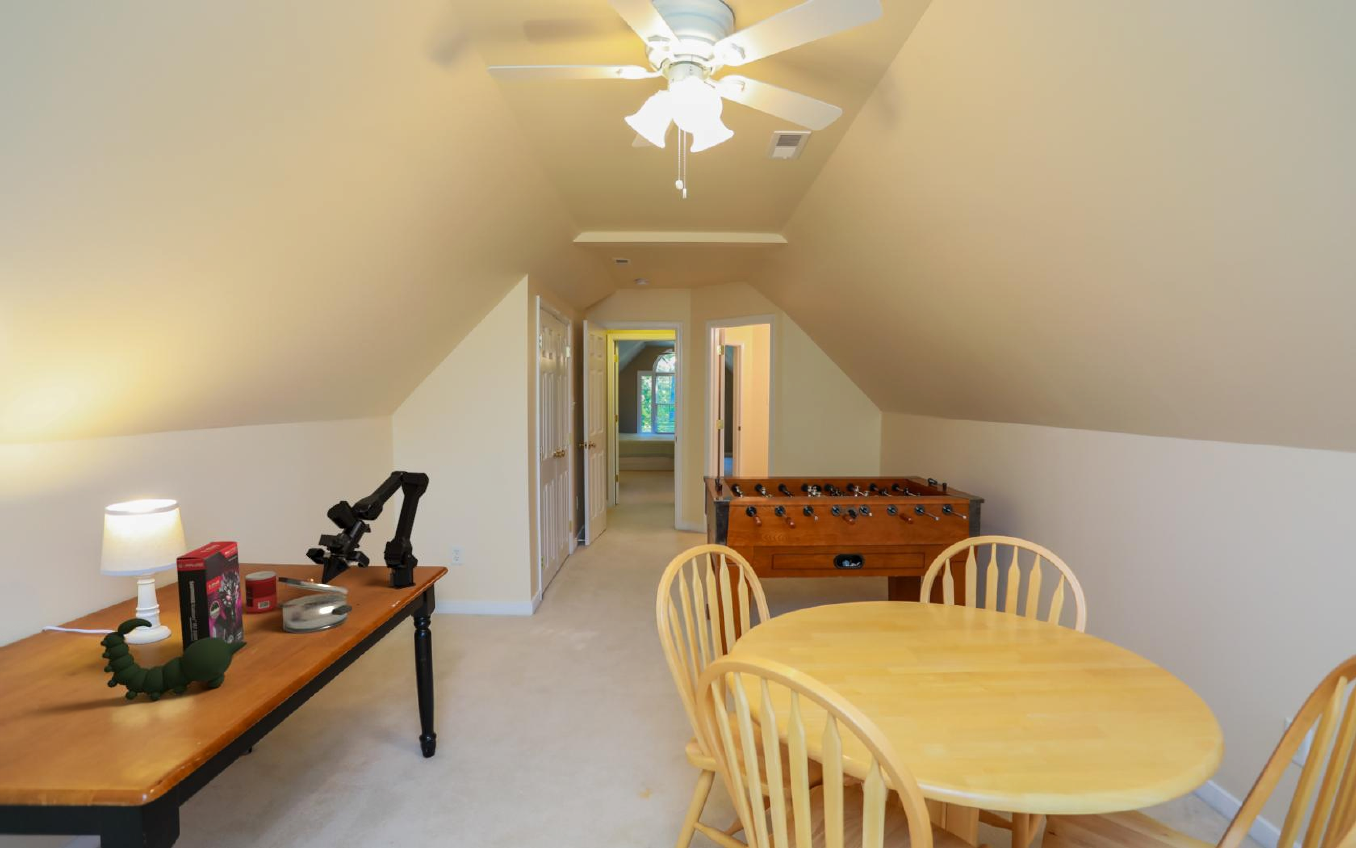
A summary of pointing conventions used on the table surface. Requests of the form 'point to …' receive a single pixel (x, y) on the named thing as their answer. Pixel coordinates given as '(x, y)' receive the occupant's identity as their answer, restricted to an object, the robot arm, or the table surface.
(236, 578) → the graphics card box
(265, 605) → the canned food
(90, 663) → the table surface
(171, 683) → the toy figurine
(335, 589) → the cooker lid
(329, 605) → the cooker pot
